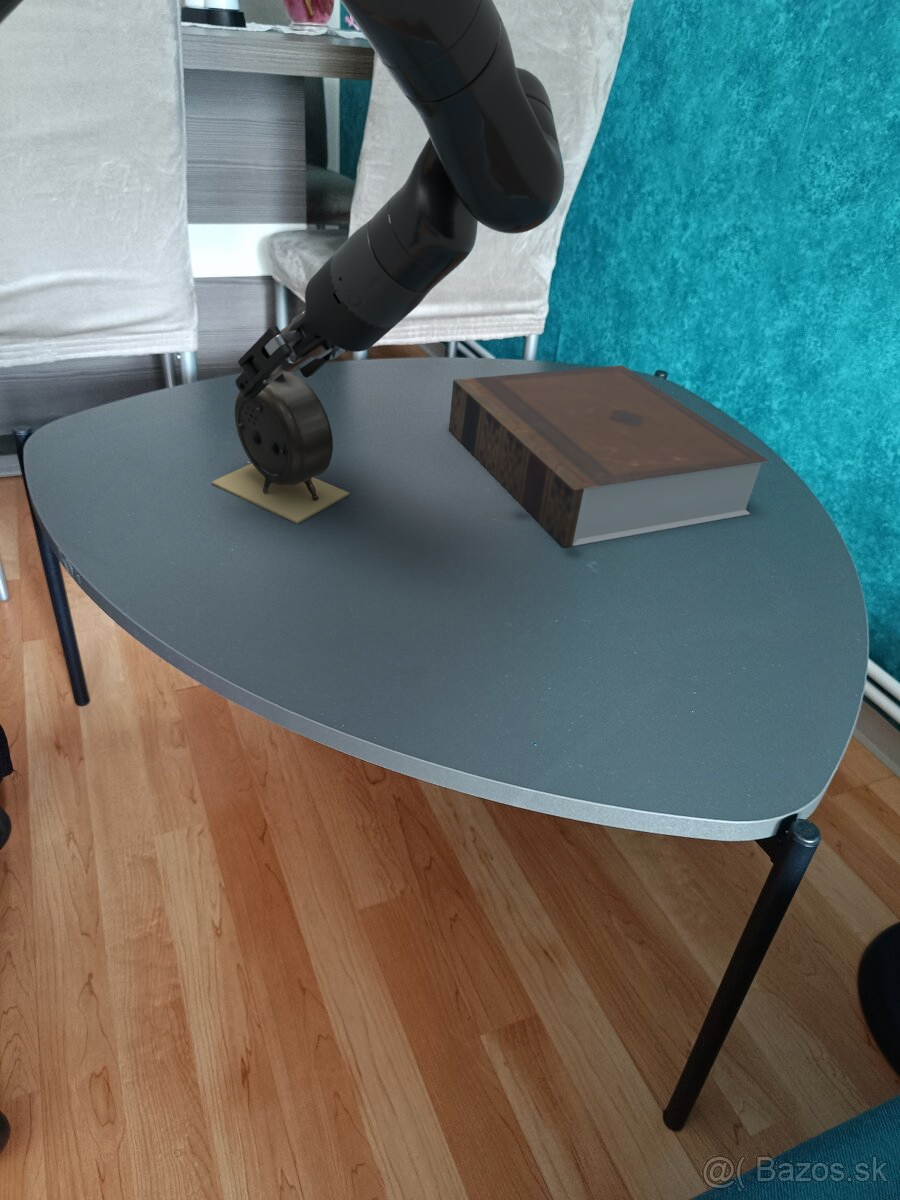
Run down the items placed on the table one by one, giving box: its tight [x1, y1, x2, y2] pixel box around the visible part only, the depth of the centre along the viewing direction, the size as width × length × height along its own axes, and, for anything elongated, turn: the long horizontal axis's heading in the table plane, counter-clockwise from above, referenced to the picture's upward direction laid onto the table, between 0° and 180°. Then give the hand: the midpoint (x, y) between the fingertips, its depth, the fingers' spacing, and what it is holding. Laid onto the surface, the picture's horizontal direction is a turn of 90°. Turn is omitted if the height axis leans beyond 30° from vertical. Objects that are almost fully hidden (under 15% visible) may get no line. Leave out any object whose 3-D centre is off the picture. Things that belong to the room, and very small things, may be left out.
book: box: [448, 364, 769, 549], centre depth 96 cm, size 24×28×6 cm
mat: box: [211, 462, 350, 525], centre depth 88 cm, size 8×12×1 cm, turn 56°
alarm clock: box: [234, 355, 334, 501], centre depth 83 cm, size 11×5×16 cm, turn 47°
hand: (273, 379), depth 81 cm, fingers open, 7 cm apart
